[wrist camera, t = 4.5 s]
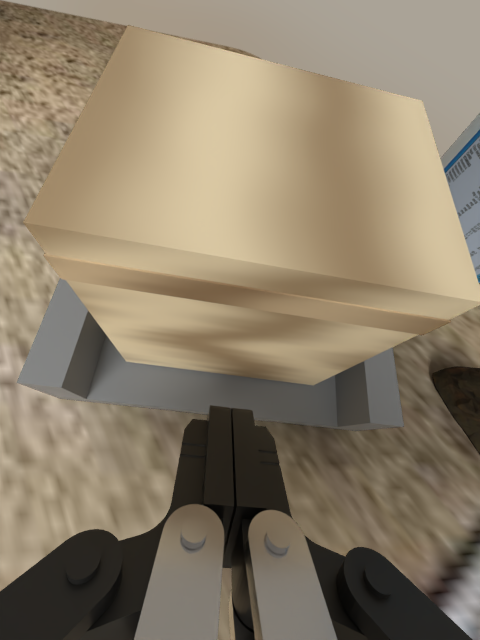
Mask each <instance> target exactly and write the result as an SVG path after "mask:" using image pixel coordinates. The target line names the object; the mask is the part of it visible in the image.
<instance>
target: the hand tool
mask: <svg viewBox="0 0 480 640" xmlns="http://www.w3.org/2000/svg"><path fill="white" fill-rule="evenodd" d="M433 380H434V382H435V386H436V388H437V390H438V392H439V393H440V395H441V397H442V399H443V400H444V402H445V403H446V405H447V407H448V409H449V411H450V413H451V414H452V416H453V417H454V418H455V419H456V420H457V422H458V424H459V425H460V426H461V427H462V429H463V430H464V432H465V433H466V434H467V436H468V437H469V439H470V440H471V442H472V443H473V445H474V446H475V448H476V449H477V451H478V452H479V454H480V368H470V367H451V368H447V369H443V370H440V371H438V372H435V373H433Z"/></svg>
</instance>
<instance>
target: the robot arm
mask: <svg viewBox="0 0 480 640" xmlns="http://www.w3.org/2000/svg"><path fill="white" fill-rule="evenodd" d="M222 568H232V590H231V593H230V597H229V603H228V610H229V624H230V639H231V640H472V639H471V638H470V637H469V636H468V635H467V634H466V633H465V632H464V631H463V630H462V629H461V628H460V627H458V626H457V625H456V624H455V623H454V622H453V621H452V620H451V619H450V618H449V617H448V616H447V615H446V614H445V613H444V612H443V611H442V610H440V609H439V608H438V607H437V606H436V605H435V604H434V603H433V602H432V601H431V600H430V599H429V598H428V597H427V596H426V595H425V594H423V593H422V592H421V591H420V590H419V589H418V588H417V587H416V586H415V585H414V584H413V583H412V582H411V581H410V580H409V579H408V578H406V577H405V576H404V575H403V574H402V573H401V572H400V571H399V570H398V569H397V568H396V567H395V566H394V565H393V564H392V563H391V562H389V561H388V560H387V559H386V558H385V557H384V556H382V555H381V554H379V553H378V552H376V551H374V550H371V549H369V548H364V547H357V548H354V549H352V550H350V551H349V552H348V553H347V555H346V557H345V556H342V555H340V554H338V553H335V552H333V551H331V550H328V549H326V548H324V547H321V546H319V545H317V544H315V543H314V542H312V541H311V540H309V539H308V538H307V537H306V536H305V535H304V533H303V532H302V530H301V528H300V527H299V525H298V524H297V523H296V522H295V521H294V520H293V518H292V516H291V513H290V509H289V505H288V500H287V496H286V491H285V487H284V482H283V477H282V473H281V468H280V466H279V459H278V455H277V450H276V446H275V441H274V438H273V437H272V435H271V434H270V432H269V431H268V429H267V428H266V427H262V426H255V424H254V417H253V411H252V410H247V409H239V408H229V407H221V406H212V405H210V407H209V412H208V418H207V420H197V419H192V421H191V422H190V423H189V424H188V426H187V427H186V428H185V430H184V436H183V441H182V447H181V452H180V458H179V464H178V469H177V475H176V481H175V486H174V492H173V497H172V503H171V507H170V509H169V511H168V513H167V515H166V516H165V518H164V519H163V520H162V521H161V522H160V523H159V524H158V525H157V526H156V527H155V528H153V529H152V530H150V531H148V532H146V533H144V534H141V535H138V536H135V537H131V538H128V539H124V540H121V541H118V539H117V538H116V537H115V536H114V535H113V534H111V533H110V532H108V531H105V530H99V529H94V530H87V531H84V532H81V533H78V534H76V535H74V536H72V537H71V538H69V539H68V540H66V541H65V542H64V543H62V544H61V545H60V546H59V547H57V548H56V549H55V550H53V551H52V552H51V553H50V554H48V555H47V556H46V557H44V558H43V559H42V560H40V561H39V562H38V563H37V564H35V565H34V566H33V567H31V568H30V569H29V570H28V571H26V572H25V573H24V574H22V575H21V576H20V577H18V578H17V579H16V580H15V581H13V582H12V583H11V584H9V585H8V586H7V587H6V588H4V589H3V590H2V591H0V640H217V639H218V624H219V609H220V594H221V579H222Z"/></svg>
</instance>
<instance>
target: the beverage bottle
mask: <svg viewBox="0 0 480 640" xmlns="http://www.w3.org/2000/svg"><path fill="white" fill-rule="evenodd" d="M440 159H441V162H442V166H443V169H444V172H445V175H446V179H447V182H448V185H449V188H450V192H451V195H452V198H453V201H454V205H455V208H456V211H457V214H458V218H459V221H460V224H461V227H462V231H463V234H464V237H465V240H466V244H467V247H468V250H469V253H470V257H471V260H472V263H473V266H474V270H475V273H476V276H477V279H478V283H479V282H480V113H479V114H478V116H477V117H476V118H475V119H474V120H473V121H472V122H471V124H470V125H469V126H468V127H467V128H466V129H465V131H464V132H463V133H462V134H461V135H460V136H459V137H458V139H457V140H456V141H455V142H454V143H453V145H452V146H451V147H450V148H449V149H448V150H447V151H446V153H445V154H444V155H443V156H442V157H441V158H440Z"/></svg>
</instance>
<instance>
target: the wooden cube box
mask: <svg viewBox="0 0 480 640" xmlns="http://www.w3.org/2000/svg"><path fill="white" fill-rule="evenodd" d="M23 223H24V224H25V225H26V227H27V228H28V230H29V231H30V232H31V234H32V235H33V236H34V238H35V239H36V240H37V242H38V243H39V244H40V246H41V247H42V249H43V250H44V251H45V253H44V255H43V256H44V257H45V258H46V260H47V261H48V262H49V264H50V265H51V266H52V267H53V269H54V270H55V271H56V273H57V274H58V275H59V277H60V278H61V279H63V280H66V281H67V282H68V284H69V285H70V286H71V288H72V289H73V290H74V292H75V293H76V295H77V296H78V297H79V299H80V300H81V301H82V303H83V304H84V305H85V307H86V308H87V309H88V311H89V312H90V313H91V315H92V316H93V318H94V319H95V320H96V322H97V323H98V324H99V326H100V327H101V328H102V330H103V331H104V332H105V334H106V335H107V336H108V338H109V339H110V341H111V342H112V343H113V345H114V346H115V347H116V349H117V350H118V351H119V353H120V354H121V355H122V357H123V358H124V359H125V361H126V362H133V363H141V364H149V365H156V366H164V367H172V368H180V369H188V370H196V371H204V372H212V373H220V374H227V375H235V376H243V377H251V378H259V379H267V380H275V381H283V382H291V383H298V384H306V385H315V384H317V383H319V382H321V381H324V380H326V379H328V378H330V377H332V376H334V375H336V374H338V373H340V372H342V371H344V370H346V369H348V368H350V367H353V366H355V365H357V364H359V363H361V362H363V361H365V360H367V359H369V358H371V357H373V356H375V355H377V354H379V353H382V352H384V351H386V350H388V349H390V348H392V347H394V346H396V345H398V344H400V343H402V342H404V341H406V340H408V339H411V338H413V337H415V336H417V335H424V334H427V333H429V332H431V331H433V330H435V329H437V328H439V327H441V326H444V325H446V324H448V323H450V322H451V319H452V318H454V317H456V316H458V315H460V314H462V313H464V312H466V311H469V310H471V309H473V308H475V307H477V306H479V305H480V286H479V283H478V279H477V276H476V273H475V270H474V266H473V263H472V260H471V257H470V253H469V250H468V247H467V244H466V240H465V237H464V234H463V231H462V227H461V224H460V221H459V218H458V214H457V211H456V208H455V205H454V201H453V198H452V195H451V192H450V188H449V185H448V182H447V179H446V175H445V172H444V169H443V166H442V162H441V159H440V156H439V153H438V149H437V146H436V143H435V140H434V136H433V133H432V130H431V127H430V123H429V120H428V117H427V114H426V111H425V107H424V104H423V101H420V100H417V99H413V98H409V97H405V96H402V95H398V94H394V93H390V92H385V91H382V90H378V89H374V88H370V87H366V86H362V85H358V84H355V83H351V82H347V81H343V80H339V79H335V78H332V77H328V76H324V75H320V74H316V73H312V72H308V71H304V70H301V69H297V68H293V67H289V66H285V65H281V64H277V63H274V62H269V61H266V60H262V59H258V58H254V57H250V56H246V55H243V54H239V53H235V52H231V51H227V50H223V49H219V48H215V47H212V46H208V45H204V44H200V43H196V42H192V41H188V40H184V39H181V38H177V37H173V36H169V35H165V34H161V33H157V32H153V31H149V30H146V29H142V28H138V27H134V26H130V25H128V26H127V28H126V30H125V32H124V33H123V35H122V37H121V39H120V41H119V43H118V45H117V47H116V49H115V50H114V52H113V54H112V56H111V58H110V60H109V62H108V64H107V65H106V67H105V69H104V71H103V73H102V75H101V77H100V79H99V81H98V82H97V84H96V86H95V88H94V90H93V92H92V94H91V96H90V98H89V99H88V101H87V103H86V105H85V107H84V109H83V111H82V113H81V114H80V116H79V118H78V120H77V122H76V124H75V126H74V128H73V130H72V131H71V133H70V135H69V137H68V139H67V141H66V143H65V145H64V146H63V148H62V150H61V152H60V154H59V156H58V158H57V160H56V162H55V163H54V165H53V167H52V169H51V171H50V173H49V175H48V177H47V179H46V180H45V182H44V184H43V186H42V188H41V190H40V192H39V194H38V195H37V197H36V199H35V201H34V203H33V205H32V207H31V209H30V211H29V212H28V214H27V216H26V218H25V220H24V222H23Z"/></svg>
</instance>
